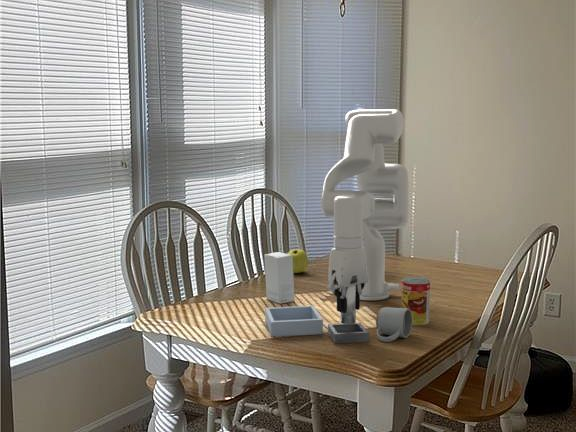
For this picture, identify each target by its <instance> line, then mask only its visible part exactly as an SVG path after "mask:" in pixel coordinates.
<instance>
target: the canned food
mask: <svg viewBox="0 0 576 432" xmlns="http://www.w3.org/2000/svg"><path fill="white" fill-rule="evenodd" d="M430 306H431V280H430V279H429V278H426V277H421V276H407V277H403V278H402V279H401V308H408V309H410V310H411V313H412V319H413V323H412V326H424V325H427V324H429V323H430V310H431V309H430Z"/></svg>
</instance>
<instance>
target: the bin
mask: <svg viewBox="0 0 576 432" xmlns="http://www.w3.org/2000/svg"><path fill="white" fill-rule="evenodd" d="M264 310H265V313H264V315H265V316H264V319H265V324H266V328H267V329H268V332H269V334H270V337H289V336H290V337H291V336H292V337H293V336H307V335H324V326H323V325H324V321H323V317H322V316H321V315H320V313H319V312H318V311H319V310H317V308H316V307H315V305H299V306H298V305H296V306H280V307H279V306H278V307H277V306H276V307H274V306H273V307H265V308H264Z"/></svg>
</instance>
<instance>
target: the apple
mask: <svg viewBox="0 0 576 432" xmlns="http://www.w3.org/2000/svg"><path fill="white" fill-rule="evenodd" d="M286 254H290V255H292V259H293V274H297V273H298V274H300V273H302V272H304V271H306V270H307V269H308V267H309V266H308V265H309V261H308V255H307V253H306V252H305V250H303V249H299V248H294V249H291V250H290V251H288V252H287V253H286Z"/></svg>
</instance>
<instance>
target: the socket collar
mask: <svg viewBox="0 0 576 432" xmlns="http://www.w3.org/2000/svg"><path fill="white" fill-rule="evenodd" d="M327 334H328V335H329V338H330V339H331V340H332V342H333V343H334V344H336V345H337V344H350V343H351V344H352V343H369V341H370V340H369V339H370V338H369V336H370V335H369V331H368V330H367V329H366V327H365V326H364V325H363V324H362V323H361V322H355V323H353V324H343V323H341V322H340V323H328V324H327Z"/></svg>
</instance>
